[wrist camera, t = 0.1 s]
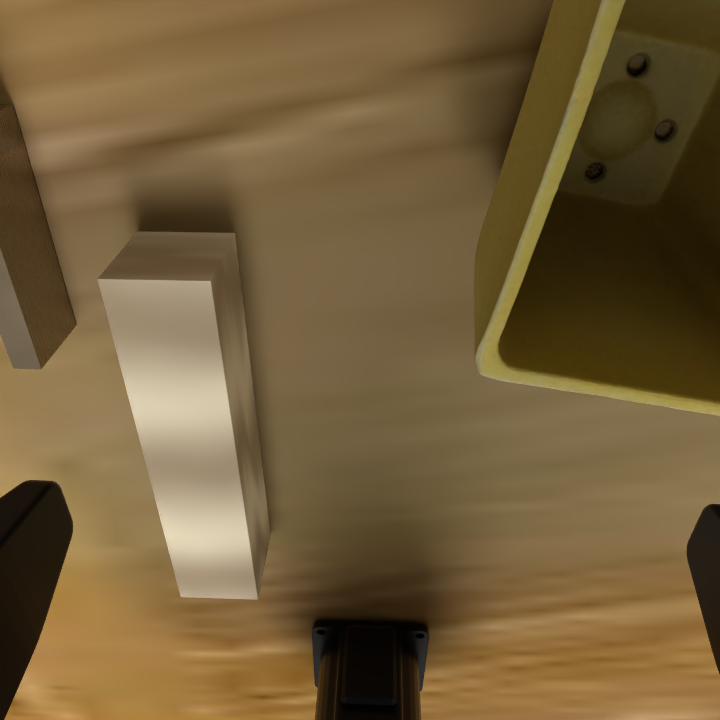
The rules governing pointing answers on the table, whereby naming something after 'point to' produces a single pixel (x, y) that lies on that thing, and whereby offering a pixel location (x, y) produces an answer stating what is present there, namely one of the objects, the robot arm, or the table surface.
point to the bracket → (27, 260)
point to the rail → (193, 403)
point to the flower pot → (610, 212)
